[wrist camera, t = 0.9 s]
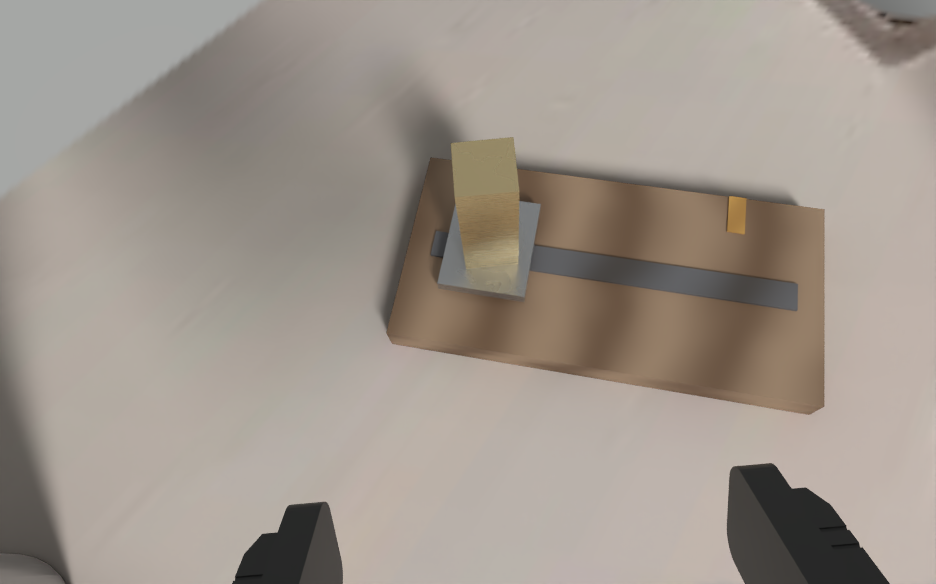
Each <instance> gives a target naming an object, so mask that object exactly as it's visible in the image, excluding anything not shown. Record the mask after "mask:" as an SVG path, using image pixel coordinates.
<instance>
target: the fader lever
mask: <svg viewBox="0 0 936 584" xmlns="http://www.w3.org/2000/svg"><path fill="white" fill-rule="evenodd" d="M451 152H452V167H453V181H454V195H455V203H456V204H455V208H454V212H453V217H452V221H451V226H450V230H449V234H448V239H447V243H446V247H445V252H444V256H443V260H442V265H441V269H440V273H439V278H438V282H437V284H438V288H439V289H444V290H450V291H456V292H463V293H469V294H475V295H482V296H488V297H494V298H501V299H507V300H513V301H520V302H524V301H525V295H526V289H527V284H528V278H529V272H530V267H531V261H532V255H533V250H534V244H535V238H536V233H537V227H538V221H539V215H540V209H541V204H537V203H530V202H523V201H519V183H518V174H517V165H516V157H515V148H514V139H513V137H510V138H500V139H489V140H478V141H468V142H457V143H451Z"/></svg>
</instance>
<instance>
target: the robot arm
mask: <svg viewBox="0 0 936 584" xmlns="http://www.w3.org/2000/svg"><path fill="white" fill-rule="evenodd" d="M727 537H728V543H729V548H730V552H731V555H732V558H733V560H734V562H735V565H736V567H737V569H738V571H739V573H740V575H741V577H742V579H743V581H744V583H745V584H890V583H889V582H888V581H887V579H886V578H885V577H884V575H883V574H882V573H881V571H880V570H879V569H878V567H877V566H876V565H875V563H874V562H873V561H872V559H871V558H870V557H869V555H868V554H867V553H866V551H865V550H864V549H863V547H862V548H860V546H859V542H858V541H857V539H856V538H855V537H854V535H853V534H852V533H851V531H850V530H847V528H846V525H845V523H844V522H843V521H842V519H841V518H840V517H839V515H838V514H837V513H836V511H835V510H834V509H833V507H832V506H831V505H830V504H829V503H827V502H826V501H824V500H823V499H822V498H820V497H819V496H817V495H816V494H814V493H813V492H812V491H810V490H809V489H807V488H795V489H791V487H790V486H789V484H788V483H787V481H786V480H785V479H784V477H783V476H782V474H781V473H780V471H779V470H778V468H777V467H776V466H775V465H774V464H772V463H769V464H757V465H746V466H735V467H732V469H731V471H730V478H729V496H728V515H727ZM0 584H65V582H64V580H63V579H62V577H61V576H60V575H59V574H58V573H57V572H56V571H55V570H54V569H53V568H52V567H51V566H50V565H49V564H47V563H45V562H43V561H41V560H39V559H37V558H35V557H31V556H26V555H22V554H8V553H0ZM232 584H343V570H342V561H341V556H340V552H339V547H338V543H337V538H336V534H335V529H334V525H333V521H332V516H331V512H330V508H329V505H328V503H327V502H317V503H306V504H294V505H289V506H288V507H287V508H286V511H285V513H284V516H283V519H282V522H281V525H280V527H279V530H278V533H267V534H262V535H261V536H260V537H259V538H258V539H257V541H256V542H255V543H254V544H253V545H252V546H251V547H250V548H249V549H248V551H247V552H246V553H245V554H244V556H243V558H242V561H241V563H240V566H239V568H238V571H237V573H236V576H235V581H233V583H232Z"/></svg>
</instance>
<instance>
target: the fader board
mask: <svg viewBox="0 0 936 584" xmlns="http://www.w3.org/2000/svg"><path fill="white" fill-rule="evenodd" d="M517 174H518V183H519V201H523V202H530V203H537V204H541V209H540V215H539V221H538V227H537V233H536V238H535V244H534V250H533V255H532V261H531V267H530V272H529V278H528V284H527V289H526V295H525V301H524V302H520V301H513V300H507V299H501V298H494V297H488V296H482V295H475V294H469V293H463V292H456V291H450V290H444V289H439V288H438V284H437V282H438V278H439V273H440V269H441V265H442V260H443V256H444V252H445V247H446V243H447V239H448V234H449V230H450V226H451V221H452V217H453V212H454V208H455V204H456V203H455V195H454V181H453V167H452V160H446V159H439V158H430V162H429V166H428V170H427V174H426V178H425V182H424V186H423V190H422V194H421V198H420V202H419V206H418V209H417V213H416V217H415V221H414V225H413V229H412V233H411V237H410V241H409V245H408V249H407V253H406V257H405V261H404V265H403V269H402V273H401V277H400V281H399V285H398V289H397V293H396V297H395V301H394V305H393V309H392V313H391V317H390V320H389V324H388V328H387V332H386V333H387V335H388V337H389V339H390V341H391V342H392V344H397V345H403V346H409V347H415V348H420V349H426V350H432V351H438V352H444V353H450V354H456V355H462V356H467V357H473V358H479V359H485V360H491V361H497V362H503V363H509V364H514V365H520V366H526V367H532V368H538V369H544V370H550V371H556V372H561V373H567V374H573V375H579V376H585V377H591V378H597V379H603V380H608V381H614V382H620V383H626V384H632V385H638V386H644V387H650V388H655V389H661V390H667V391H673V392H679V393H685V394H691V395H697V396H702V397H708V398H714V399H720V400H726V401H732V402H738V403H744V404H749V405H755V406H761V407H767V408H773V409H779V410H785V411H791V412H796V413H802V414H808V415H809V414H811V413H813V412H815V411H817V410H819V409H821V408H823V407H824V209H817V208H810V207H802V206H795V205H787V204H779V203H772V202H764V201H757V200H749V199H746V198H741V197H733V196H729V197H726V196H719V195H711V194H704V193H696V192H689V191H681V190H673V189H666V188H658V187H651V186H643V185H636V184H628V183H620V182H613V181H605V180H598V179H590V178H583V177H575V176H567V175H560V174H552V173H545V172H537V171H529V170H522V169H517Z"/></svg>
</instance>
